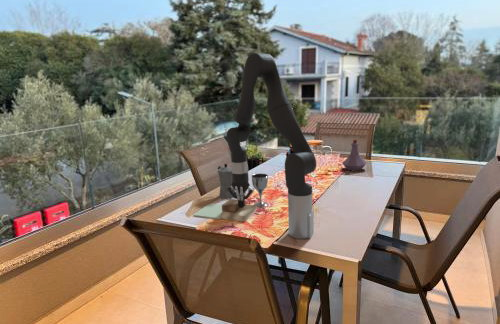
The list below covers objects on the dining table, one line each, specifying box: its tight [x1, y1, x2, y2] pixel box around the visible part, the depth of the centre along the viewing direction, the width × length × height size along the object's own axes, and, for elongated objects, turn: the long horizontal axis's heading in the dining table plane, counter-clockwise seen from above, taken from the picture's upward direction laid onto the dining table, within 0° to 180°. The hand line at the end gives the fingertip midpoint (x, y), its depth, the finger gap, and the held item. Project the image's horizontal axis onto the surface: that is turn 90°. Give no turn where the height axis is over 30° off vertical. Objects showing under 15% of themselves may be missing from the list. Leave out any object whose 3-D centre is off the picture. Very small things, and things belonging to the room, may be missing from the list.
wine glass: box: [251, 173, 269, 208], centre depth 165 cm, size 8×8×15 cm
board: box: [220, 203, 258, 222], centre depth 155 cm, size 12×14×2 cm
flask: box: [341, 139, 368, 172], centre depth 223 cm, size 16×16×20 cm
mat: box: [192, 203, 223, 220], centre depth 160 cm, size 14×16×1 cm
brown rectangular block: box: [221, 198, 239, 213], centre depth 156 cm, size 6×9×3 cm, turn 158°
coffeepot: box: [217, 163, 234, 200], centre depth 181 cm, size 15×9×18 cm, turn 33°
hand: (241, 207), depth 154 cm, fingers closed
